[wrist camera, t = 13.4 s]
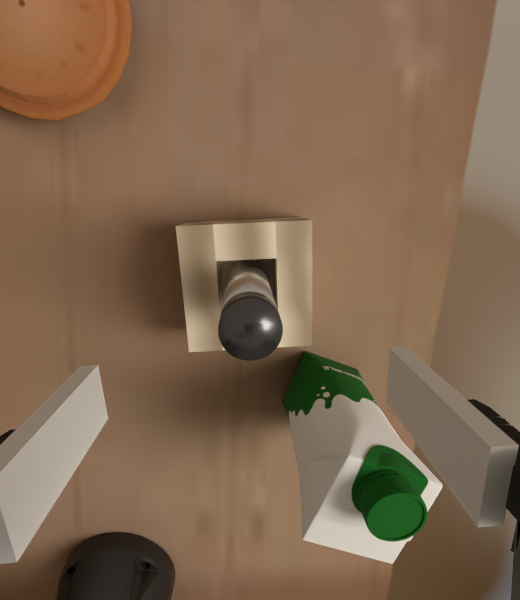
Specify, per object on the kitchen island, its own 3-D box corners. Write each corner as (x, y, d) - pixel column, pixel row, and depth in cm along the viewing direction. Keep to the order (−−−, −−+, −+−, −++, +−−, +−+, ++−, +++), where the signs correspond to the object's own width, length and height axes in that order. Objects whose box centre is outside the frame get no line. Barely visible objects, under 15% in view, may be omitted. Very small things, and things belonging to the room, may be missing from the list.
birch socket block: (197, 330, 39) (189, 352, 33) (186, 222, 36) (175, 226, 30) (302, 324, 39) (312, 345, 33) (301, 217, 36) (312, 219, 30)
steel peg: (229, 296, 37) (220, 362, 22) (227, 260, 36) (215, 301, 20) (266, 294, 37) (283, 358, 22) (265, 258, 36) (282, 297, 21)
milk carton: (367, 365, 41) (474, 508, 22) (335, 426, 43) (408, 605, 24) (300, 341, 40) (352, 470, 21) (271, 405, 42) (293, 576, 23)
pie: (146, 134, 33) (129, 123, 29) (-20, 121, 32) (-66, 107, 28) (142, -63, 29) (121, -115, 24) (-49, -85, 28) (-109, -144, 23)
